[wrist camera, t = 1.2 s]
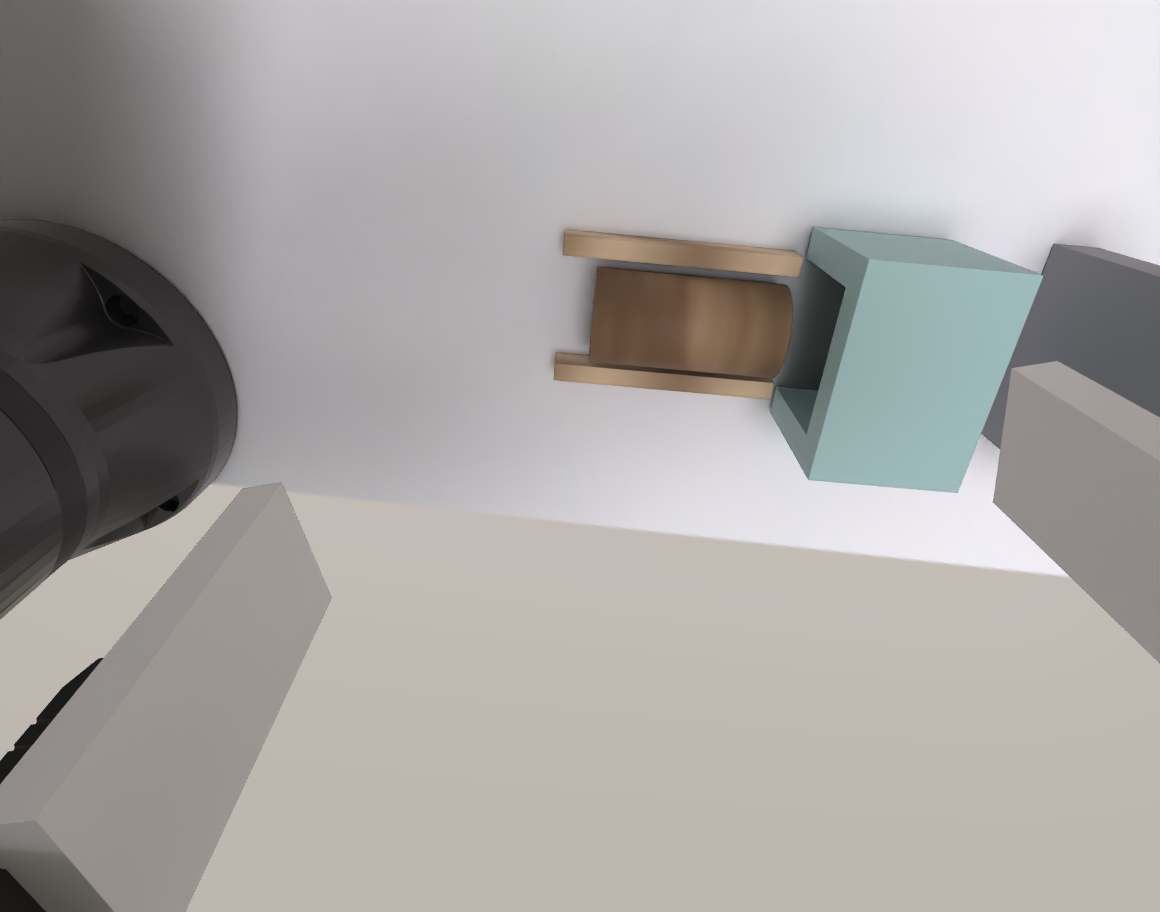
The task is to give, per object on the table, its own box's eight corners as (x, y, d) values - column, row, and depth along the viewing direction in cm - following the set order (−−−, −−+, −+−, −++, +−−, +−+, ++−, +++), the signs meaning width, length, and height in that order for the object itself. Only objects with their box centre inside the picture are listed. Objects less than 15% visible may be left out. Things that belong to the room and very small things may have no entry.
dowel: (589, 346, 32) (588, 373, 29) (597, 259, 30) (597, 276, 27) (757, 362, 32) (778, 391, 29) (775, 276, 31) (799, 295, 27)
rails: (555, 368, 33) (553, 380, 31) (565, 229, 30) (564, 235, 28) (763, 387, 33) (770, 399, 31) (794, 250, 30) (803, 257, 29)
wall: (979, 431, 34) (1117, 550, 25) (1053, 244, 29) (1250, 305, 21) (1019, 435, 34) (1171, 555, 25) (1099, 248, 30) (1315, 311, 21)
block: (770, 411, 33) (808, 479, 27) (813, 227, 29) (869, 259, 23) (892, 422, 33) (957, 492, 27) (952, 240, 29) (1043, 275, 23)
